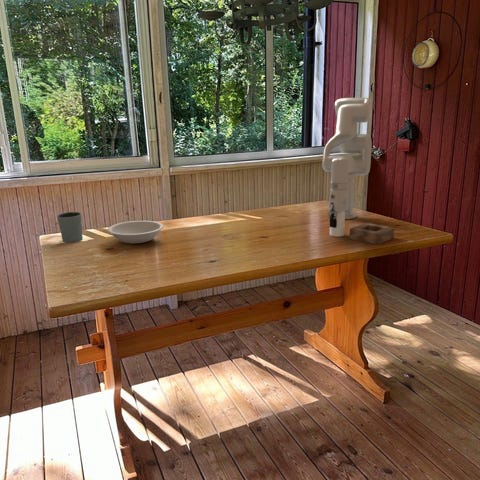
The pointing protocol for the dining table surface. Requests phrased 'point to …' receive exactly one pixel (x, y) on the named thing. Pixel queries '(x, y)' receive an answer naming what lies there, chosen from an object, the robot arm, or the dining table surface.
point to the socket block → (371, 233)
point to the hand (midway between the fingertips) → (337, 225)
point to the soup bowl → (135, 231)
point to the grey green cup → (70, 226)
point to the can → (338, 225)
